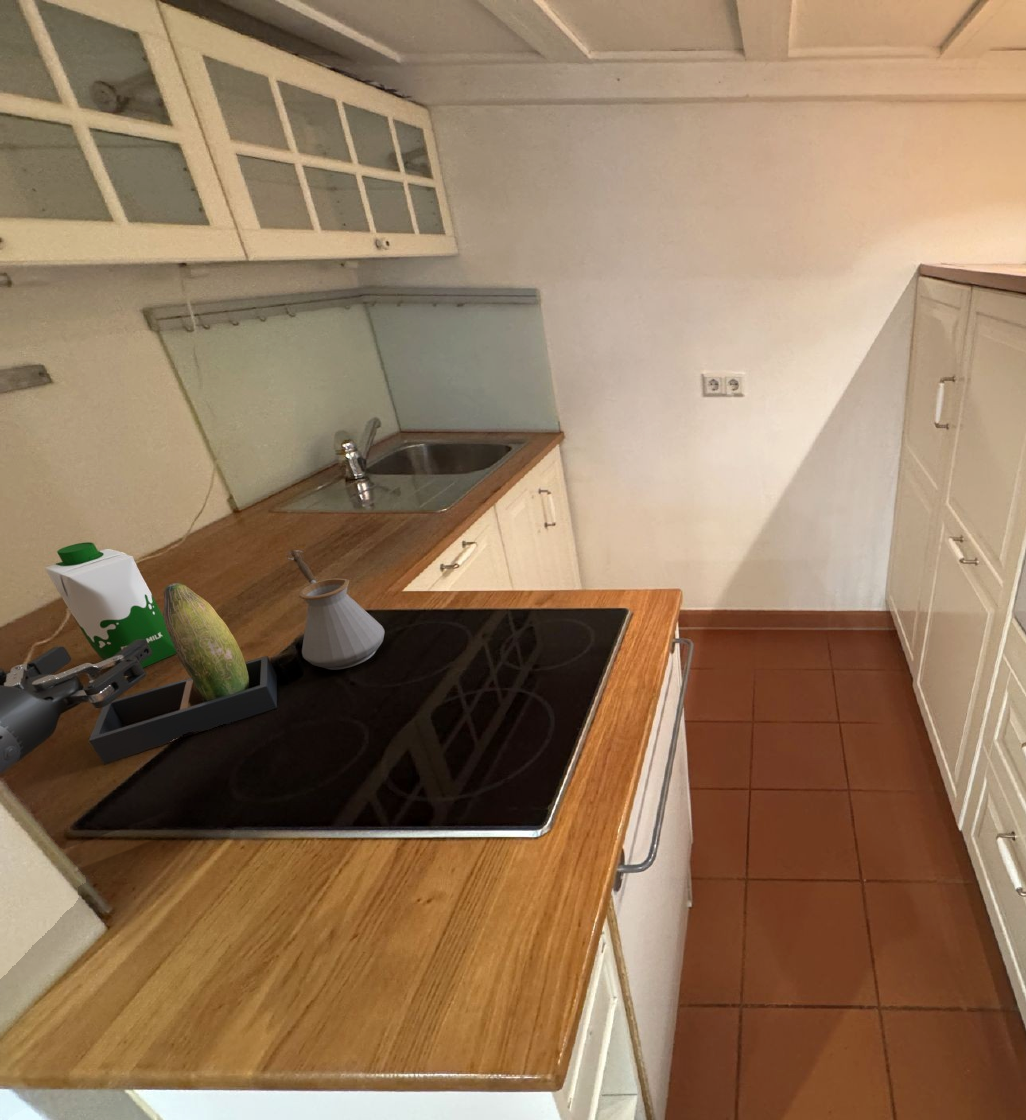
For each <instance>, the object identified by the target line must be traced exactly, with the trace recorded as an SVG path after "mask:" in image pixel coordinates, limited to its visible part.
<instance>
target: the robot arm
mask: <svg viewBox="0 0 1026 1120" xmlns="http://www.w3.org/2000/svg"><path fill="white" fill-rule="evenodd" d="M152 653H153V652H152V650H151V648H150V646H149V644H148V643H147V641H146V640H145V639H139V640H135V641H133V642H132V643H131V644H129V645H128V646H127V647H125V648H124V649H122V650H121V651H120V652H118V653H117V654H115V655H114V657H112V658H109V659H107V660H104V661H103V660H102V661H99V662H97V663H91V662H85V663H82V664H80V665H77V666H75V667H72V668H70V669H67V670H64V671H62V672H58V671H59V670H61V669H62V668H64V667H65V666H66V665H68V664H69V663H71V662H72V656H71V655H70V653H69V652H68V650H67V649H66V647H65V646H62V645H60V646H53V647H51V648H49V649H48V650H46V651H45V652H43V653H42V654H40V655H38V656H37V657H36V658H34V659H32V660H31V661H29V662H28V663H22V664H17V665H15V666H13V667H12V668H11V669H10V670H7V671H5V670H4V669H3V668H0V777H1V776H2V775H4V773H6V772H7V771H8V770H10V769H11V768H13V767H14V766H15V765H16V764H18V763H19V762H20V761H21V760H23V759H24V758H25V757H27V756H28V755H29V754H30V753H32V752H33V751H34V750H35V749H37V748H38V747H40V746H41V745H42V744H43V743H45V742H46V741H47V740H48V739H50V738H51V737H52V736H53V734H54V733H55V731H56V729H57V726H58V723H59V722H58V721H59V719H60V717H61V715H62V714H64V713H66V712H68V711H69V710H72V709H73V708H75V707H78V706H79V705H80V704H81V703H82V704H83V703H91V704H92V706H93V707H94V709H102V707H104V706H107V705H108V704H110V703H111V702H112V701H114V700H115V699H118V698H120V696H122V695H123V694H125V693H126V692H127V691H128V690H130V689H131V688H132V687H134V686H135V685H136V684H138V683H139V682H140V681H142V680H143V679H144V678H146V677H147V673H146V671H145V670H144V669H145V668H142V666H141V664H140V663H141V662H143V661H144V660H145V659H147V657H149V656H150V655H152ZM111 666H112V667H111ZM108 668H109V669H108ZM106 669H108V670H107V671H106V672H104V673H103V674H101V671H103V670H106ZM56 672H58V673H56ZM83 674H86V675H87V677H88V678H89V681H88V684H87V685H85V686H84V683H83V682H82V681H81V679H80V678H79V676H81V675H83Z"/></svg>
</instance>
